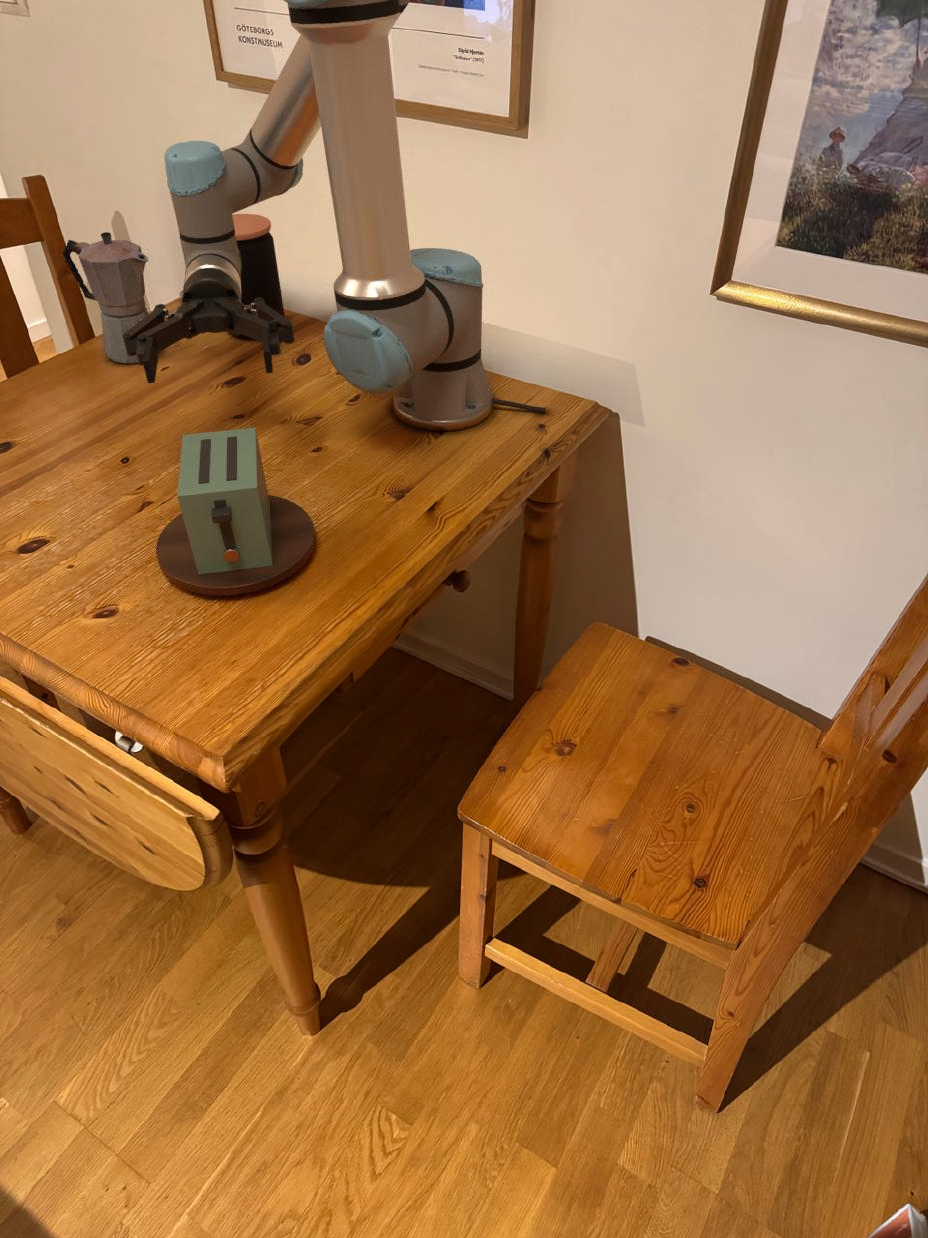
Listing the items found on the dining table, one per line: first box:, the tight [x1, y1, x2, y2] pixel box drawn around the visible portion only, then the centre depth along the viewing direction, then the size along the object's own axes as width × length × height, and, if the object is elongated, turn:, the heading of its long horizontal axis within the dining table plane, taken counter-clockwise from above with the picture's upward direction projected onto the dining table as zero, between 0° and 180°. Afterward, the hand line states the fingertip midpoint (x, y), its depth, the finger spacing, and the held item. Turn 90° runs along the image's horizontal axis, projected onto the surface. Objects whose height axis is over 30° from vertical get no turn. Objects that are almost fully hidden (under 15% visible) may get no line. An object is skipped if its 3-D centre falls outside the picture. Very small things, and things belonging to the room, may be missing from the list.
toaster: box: [155, 427, 316, 596], centre depth 102 cm, size 19×19×12 cm
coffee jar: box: [230, 213, 286, 341], centre depth 148 cm, size 11×11×18 cm
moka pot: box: [62, 231, 159, 364], centre depth 141 cm, size 10×15×20 cm, turn 78°
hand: (208, 367), depth 100 cm, fingers open, 13 cm apart
